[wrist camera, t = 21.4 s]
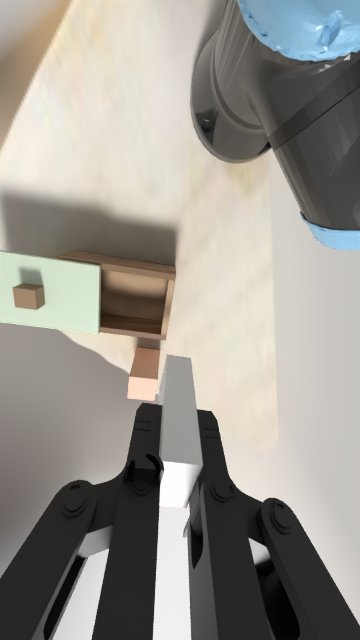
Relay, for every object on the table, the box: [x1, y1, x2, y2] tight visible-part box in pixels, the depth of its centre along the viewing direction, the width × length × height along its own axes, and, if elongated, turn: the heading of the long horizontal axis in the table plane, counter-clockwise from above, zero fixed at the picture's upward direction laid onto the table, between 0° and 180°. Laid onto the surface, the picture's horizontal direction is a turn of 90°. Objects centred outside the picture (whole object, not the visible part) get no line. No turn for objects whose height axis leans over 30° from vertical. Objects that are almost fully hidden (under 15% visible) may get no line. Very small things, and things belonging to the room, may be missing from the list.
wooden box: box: [58, 251, 176, 340], centre depth 40 cm, size 12×18×7 cm, turn 81°
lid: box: [0, 250, 101, 334], centre depth 34 cm, size 11×17×4 cm, turn 81°
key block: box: [127, 347, 160, 401], centre depth 45 cm, size 5×5×10 cm
